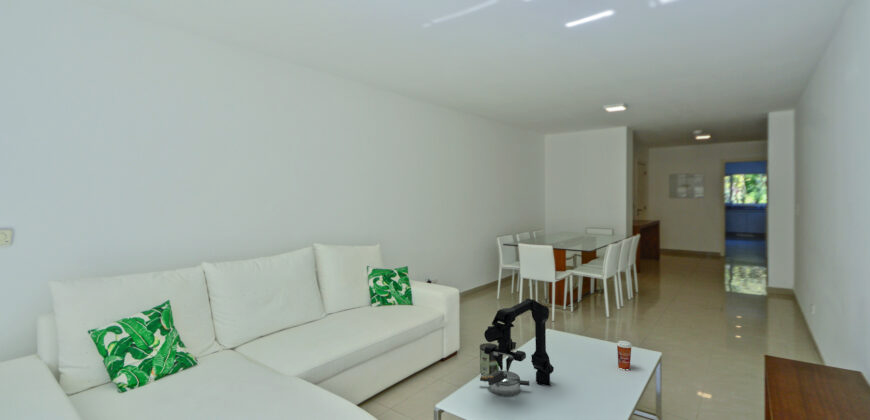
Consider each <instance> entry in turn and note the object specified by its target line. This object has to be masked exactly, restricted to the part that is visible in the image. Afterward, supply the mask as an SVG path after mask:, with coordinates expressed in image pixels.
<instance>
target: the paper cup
mask: <svg viewBox="0 0 870 420" xmlns="http://www.w3.org/2000/svg"><path fill="white" fill-rule="evenodd" d="M616 347H617V364H618V369H619V368H622V369H629V370H630V369H631V356H632V347H633V345H632V343H631V342H629V341H627V340H618V341H617V343H616Z"/></svg>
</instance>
